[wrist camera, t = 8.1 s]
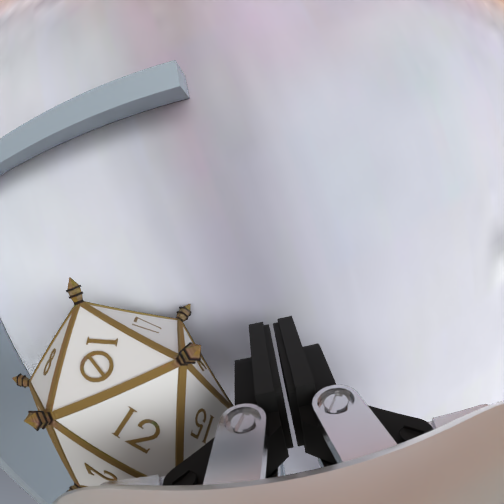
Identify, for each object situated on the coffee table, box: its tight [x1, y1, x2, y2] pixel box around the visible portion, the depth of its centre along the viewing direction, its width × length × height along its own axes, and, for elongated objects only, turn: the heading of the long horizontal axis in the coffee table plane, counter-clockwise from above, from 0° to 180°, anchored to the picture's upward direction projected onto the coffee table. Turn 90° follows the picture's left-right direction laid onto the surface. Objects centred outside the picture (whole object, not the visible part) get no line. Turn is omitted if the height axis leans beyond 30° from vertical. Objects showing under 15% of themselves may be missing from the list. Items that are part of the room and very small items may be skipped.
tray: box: [0, 60, 285, 504], centre depth 11 cm, size 16×23×6 cm
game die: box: [12, 278, 233, 492], centre depth 10 cm, size 9×8×10 cm
